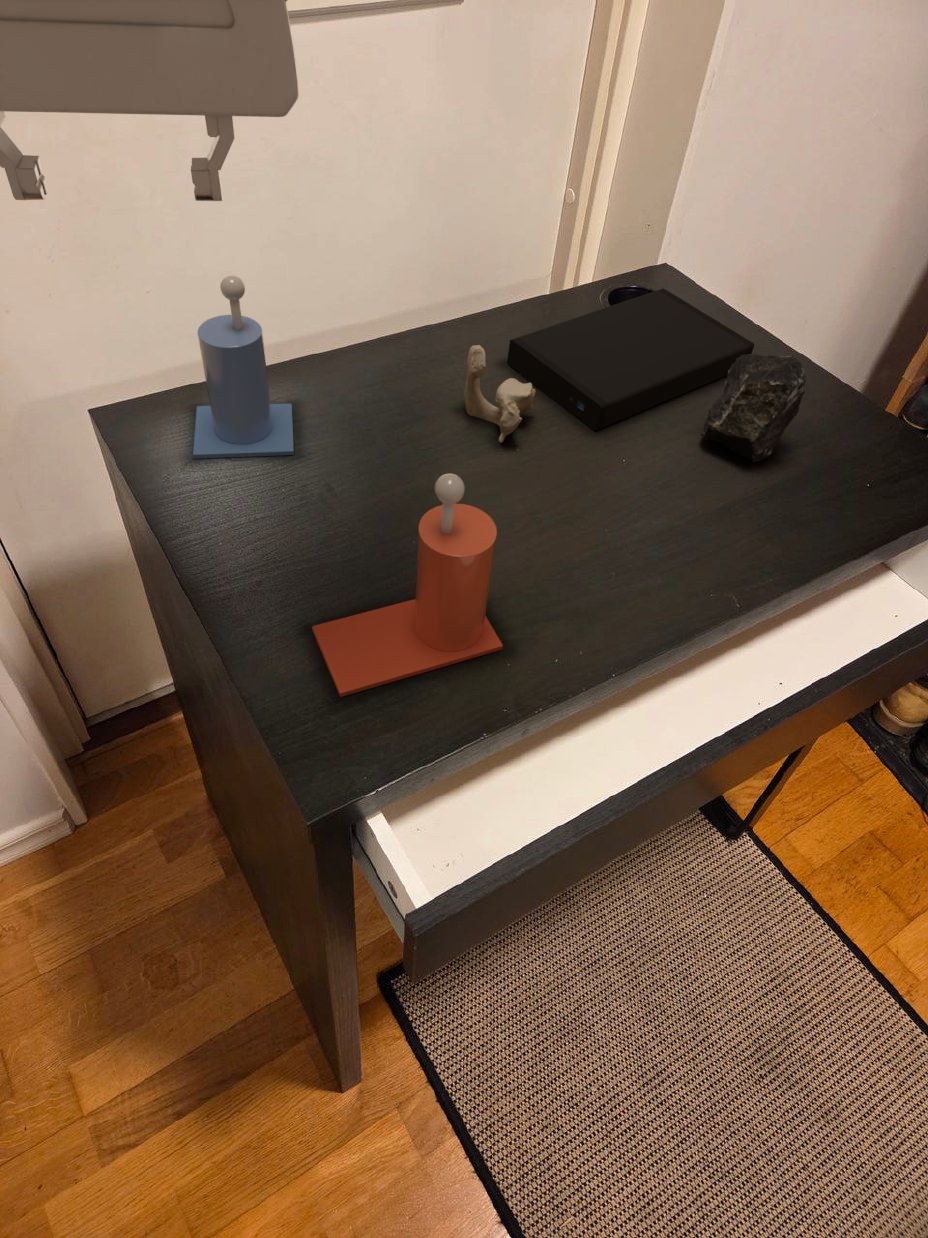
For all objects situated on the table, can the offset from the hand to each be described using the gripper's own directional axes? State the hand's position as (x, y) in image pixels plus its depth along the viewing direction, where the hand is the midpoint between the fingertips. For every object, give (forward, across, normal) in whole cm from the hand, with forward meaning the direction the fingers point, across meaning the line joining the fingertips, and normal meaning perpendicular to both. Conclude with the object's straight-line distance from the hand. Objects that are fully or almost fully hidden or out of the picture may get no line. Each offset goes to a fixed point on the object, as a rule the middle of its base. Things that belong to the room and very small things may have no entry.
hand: (122, 196), depth 48 cm
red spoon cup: (+28, -19, +9) cm, 35 cm away
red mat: (+29, -16, +10) cm, 34 cm away
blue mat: (+29, -3, -18) cm, 34 cm away
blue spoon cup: (+28, -3, -18) cm, 34 cm away
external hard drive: (+29, -44, -27) cm, 60 cm away
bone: (+29, -28, -18) cm, 44 cm away
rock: (+29, -51, -12) cm, 60 cm away
